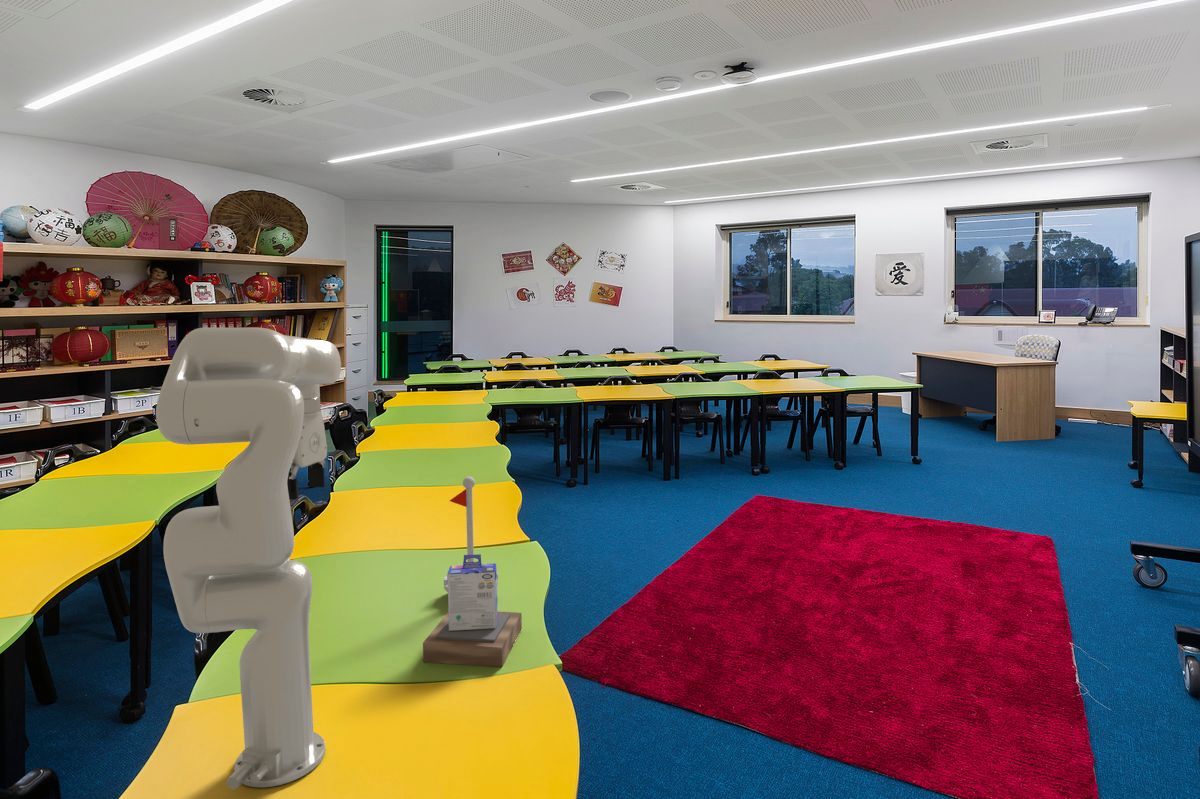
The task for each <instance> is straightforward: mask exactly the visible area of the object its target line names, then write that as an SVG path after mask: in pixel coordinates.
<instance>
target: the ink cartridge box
mask: <svg viewBox="0 0 1200 799" xmlns="http://www.w3.org/2000/svg"><path fill="white" fill-rule="evenodd" d="M470 558H474V559H476V560H477V561H474V562H468V559H470ZM497 573H498V570H497V563H496V562H493V563H492V562H491V563H482V554H480V553H479V554H474V555H467V554H463V562H462V565H449V569H448V571H447V574H446V576H447V584H448V592H447V608H448V609H447V613H448V619H449V631H457V630H473V629H491V628H496V626H497V620H498V617H497V611H498V585H497Z"/></svg>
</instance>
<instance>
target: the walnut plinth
mask: <svg viewBox="0 0 1200 799" xmlns="http://www.w3.org/2000/svg"><path fill="white" fill-rule="evenodd" d="M522 614H523V613H522V612H516V611H500V610H497V617H498V620H497V626H496V628H491V629H473V630H457V631H449V619H448V612H447V613H446V614H445V615H444V617H443V618H441V620H440V621H439V623H437V625H436V626H435V627H434V628H433V630H432V631H431V632H430V633H429V635H427V637H426V638H425V639H424V641H423V642H422V658H423V663H434V664H450V665H462V666H463V665H467V666H478V667H479V666H480V667H496V668H503V667H504V664H505V662H506V661H507V658H508V657H509V655H510V653H511V651H512V650H511V649H513V648H514V646H513V644H514V643H515V644H516V642H515V640H516V639H517V640H518V638H517V637H519V636H520V635H519V633H520V631H521V629H523V627H522V626H523V625H522V623H523V622H522V621H523V620H522V617H523V616H522ZM521 632H522V631H521ZM520 634H521V633H520ZM518 635H519V636H518ZM517 640H516V641H517ZM515 644H514V645H515ZM512 647H513V648H512Z"/></svg>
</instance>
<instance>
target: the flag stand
mask: <svg viewBox="0 0 1200 799" xmlns="http://www.w3.org/2000/svg"><path fill="white" fill-rule="evenodd" d="M475 484H476V480H475V479H474V477H472V476H466V477H464V479H463V480H462V487H464V488H465V489H464V490H462V491H461V492H460V493H458V494H456V495H455V496H454V497H452V498H451V499H449V502H450V503H454V504H457V505H459V506H462V507H465V508H466V509H465V510H466V512H465V513H466V516H465V517H466V546H467V547H466V550H467V551H466V552H467V554H466V555H475V552H474V550H475V549H474V548H475V547H474V516H473V515H474V512H473V510H474V509H473V508H474V507H473V506H474V505H473V504H474V503H473V488H474V487H475ZM467 562H475V558H470V559H467ZM498 585H499V573H498V572H497V586H498ZM443 589H444V590H445V591H446V592H447V593H448V584H447V575H445V576H443Z"/></svg>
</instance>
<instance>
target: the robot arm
mask: <svg viewBox="0 0 1200 799" xmlns="http://www.w3.org/2000/svg"><path fill="white" fill-rule="evenodd" d="M341 369H342V361H341V356H340V352H339V350H338V348H337V347H336V345H335V344H334V343H332V342H331V341H328V340H322V339H313V338H307V337H306V338H305V337H300V336H293V335H286V334H283V333H280V332H278V331H276V330H274V329H271V328H267V327H266V328H264V327H256V326H255V327H253V326H252V327H199V328H195V329H193V330H191V331H190V332H189V333H187V334H186V335H185V336H184V337H183V339H182V340H181V341H180V343H179V344H178V346H177V348H176V350H175V352H174V355H173V357H172V360H171V362H170V364H169V367H168V370H167V373H166V375H165V377H164V380H163V384H162V386H161V389H160V392H159V395H158V398H157V402H156V407H155V408H156V410H155V418H156V419H155V420H156V425H157V427H158V430H159V432H160V434H161V435H162V436H163V437H164V438H165V439H166V441H167V440H168V441H169V442H172V444H179V445H186V446H187V445H188V446H189V445H191V446H192V445H193V446H194V445H209V444H210V445H211V444H212V445H213V444H231V443H249V444H248V445H247V446H246V447H245V449H243V450H242V451H241V452H240V453H238V454H237V455H236V456H235V457H234V459H233V460H232V461H231V462H230V463H229V464H228V465H227V466H226V467H225V469H224V470H223V472H222V473H221V474H220V476H219V477H218V480H217V482H216V487H215V491H216V496H217V501H218V505H210V506H208V505H207V506H197V507H196V506H195V507H192V508H187V509H183V510H182V511H179V512H178V513H175V515H174V516H173V517H172V518H171V519H170V521H169V522H168V524H167V526H166V529H165V533H164V536H163V559H164V563H165V569H166V573H167V576H168V580H169V583H170V588H171V591H172V595H173V598H174V602H175V605H176V609H177V613H178V617H179V619H180V621H181V624H182V626H183V628H185V629H186V630H188V632H191V633H195V634H210V633H211V634H212V633H221V632H231V631H240V630H256V631H255V632H254V634H253V635H252V636H251V637H250V638H249V640H248V641H247V643H246V644H245V645H244V647H243V649H242V651H241V653H240V657H239V664H238V666H239V677H240V678H239V679H240V692H241V694H240V695H241V710H242V711H241V712H242V723H243V738H244V739H243V740H244V749H243V750H242V751H241V753H240V754H239V755H238V756H237V757H236V760H235V762H234V767H233V770H234V772H233V773H232V774H231V775H230V776H229V777H228V778H227V779H226V786H227V787H228V788H229V789H230V790H233V791H235V790H238V788H239V787H240V786H241V785H244V786H247V787H250V788H251V787H252V788H262V789H263V788H271V787H277V786H282V785H285V784H289V783H291V782H294V781H295V780H299V778H302V777H303V776H306V775H307V774H308V773H310V772H311V771H313V770H315V768H316V767H317V766H319V764H320V762H322V761H323V759H324V756H325V754H326V742H325V739H324V738H323V736H322V735H320V734H318V733H317V732H314V718H313V700H312V699H313V698H312V697H313V695H312V679H311V678H312V675H311V659H310V658H311V657H310V634H309V633H310V613H311V604H312V595H313V577H312V572H311V571H310V569H309V567H308V566H307V565H305V564H304V563H303V562H300V561H298V560H294V559H290V558H291V556H292V554H293V552H294V548H295V533H294V532H295V530H294V524H293V514H292V509H291V500H295V501H296V500H297V499H299V487H298V486H299V484H298V478H296V476H297V473H298V471H299V468H307V467H308V484H309V485H308V486H309V487H311V488H324V487H326V474H325V473H326V471H325V468H326V459H327V456H328V446H329V445H328V443H327V436H326V429H325V423H324V418H323V415H322V411H321V398H320V397H321V394H320V392H321V390H320V385H332V384H335V383H336V382H337V380H339V377H340V374H341Z"/></svg>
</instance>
